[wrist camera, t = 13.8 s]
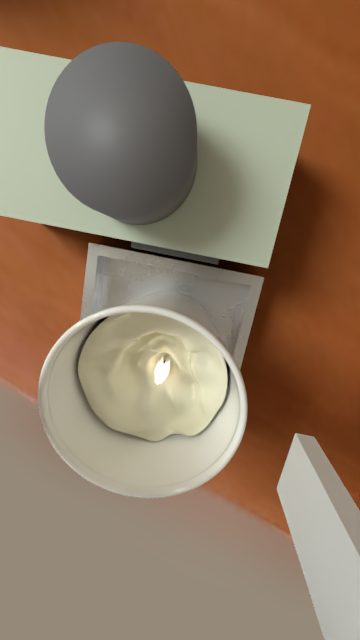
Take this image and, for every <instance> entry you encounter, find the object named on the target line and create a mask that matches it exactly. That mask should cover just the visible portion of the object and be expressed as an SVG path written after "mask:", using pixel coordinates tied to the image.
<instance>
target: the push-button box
mask: <svg viewBox="0 0 360 640" xmlns="http://www.w3.org/2000/svg"><path fill="white" fill-rule="evenodd" d="M310 107H311V105H310V104H304V103H299V102H294V101H288V100H283V99H278V98H272V97H267V96H262V95H256V94H251V93H246V92H240V91H235V90H230V89H224V88H219V87H214V86H208V85H203V84H198V83H192V82H187V81H183V79H182V78H181V77H180V75H179V74H178V72H177V71H176V70H175V69H174V68H173V66H172V65H171V64H170V63H169V62H168V61H166V60H165V59H164V58H163V57H162V56H160V55H159V54H157V53H156V52H154V51H153V50H151V49H148V48H146V47H144V46H142V45H138V44H134V43H130V42H108V43H103V44H99V45H97V46H94V47H91V48H89V49H87V50H86V51H84V52H82V53H80V54H79V55H78V56H77V57H75V58H74V59H73V60H69V59H64V58H59V57H53V56H48V55H43V54H37V53H32V52H27V51H21V50H16V49H10V48H5V47H0V215H1V216H6V217H11V218H16V219H21V220H26V221H31V222H36V223H41V224H46V225H51V226H56V227H61V228H66V229H71V230H76V231H81V232H86V233H91V234H96V235H101V236H106V237H111V238H116V239H121V240H127V241H132V242H131V248H136V249H141V250H146V251H151V252H156V253H161V254H167V255H172V256H177V257H182V258H187V259H192V260H197V261H202V262H207V263H212V264H217V265H218V262H219V259H223V260H228V261H233V262H238V263H243V264H248V265H253V266H258V267H264V268H268V266H269V262H270V259H271V255H272V251H273V247H274V243H275V240H276V236H277V232H278V228H279V224H280V221H281V217H282V213H283V209H284V205H285V202H286V198H287V194H288V190H289V186H290V183H291V179H292V175H293V171H294V167H295V164H296V160H297V156H298V152H299V148H300V145H301V141H302V137H303V133H304V129H305V126H306V122H307V118H308V114H309V110H310Z"/></svg>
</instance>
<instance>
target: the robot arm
mask: <svg viewBox="0 0 360 640" xmlns="http://www.w3.org/2000/svg"><path fill="white" fill-rule="evenodd" d="M277 491H278V495H279V498H280V501H281V504H282V507H283V510H284V514H285V517H286V520H287V523H288V526H289V529H290V532H291V536H292V539H293V542H294V545H295V548H296V551H297V555H298V558H299V561H300V564H301V567H302V570H303V573H304V577H305V580H306V583H307V586H308V589H309V592H310V596H311V598H312V602H313V605H314V608H315V611H316V614H317V617H318V621H319V624H320V627H321V630H322V633H323V637H324V640H360V510H359V509H358V507H357V506H356V504H355V502H354V501H353V499H352V497H351V496H350V494H349V492H348V491H347V489H346V488H345V486H344V484H343V483H342V481H341V479H340V478H339V476H338V475H337V473H336V471H335V470H334V468H333V466H332V465H331V463H330V461H329V460H328V458H327V457H326V455H325V453H324V452H323V450H322V448H321V447H320V445H319V443H318V442H317V440H316V439H315V437H313V436H308V435H303V434H299V433H295V435H294V438H293V441H292V444H291V447H290V450H289V453H288V456H287V459H286V462H285V465H284V468H283V471H282V474H281V477H280V480H279V483H278V486H277Z"/></svg>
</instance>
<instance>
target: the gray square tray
mask: <svg viewBox="0 0 360 640" xmlns="http://www.w3.org/2000/svg"><path fill="white" fill-rule="evenodd" d="M263 281H264V277H262V276H259V275H254V274H249V273H244V272H239V271H234V270H229V269H224V268H219V267H214V266H209V265H204V264H199V263H194V262H189V261H184V260H179V259H174V258H169V257H163V256H158V255H153V254H148V253H143V252H138V251H133V250H128V249H123V248H118V247H113V246H108V245H103V244H97V243H89V245H88V255H87V264H86V273H85V282H84V291H83V300H82V309H81V318H80V321H81V320H82V319H84V318H86V317H88V316H89V315H92V314H94V313H96V312H99V311H101V310H105V309H108V308H112V307H115V306H118V305H120V304H123V303H125V302H128V301H130V300H133V299H135V298H137V297H140V296H142V295H145V294H148V293H151V292H155V291H161V290H171V291H177V292H181V293H184V294H186V295H189V296H190V297H192V298H194V299H195V300H197V301H198V302H199V303H200V304H201V305H202V306H203V307H204V308H205V309H206V310H207V312H208V313H209V315H210V316H211V318H212V320H213V322H214V324H215V326H216V328H217V330H218V332H219V334H220V336H221V337H222V339H223V341H224V343H225V345H226V347H227V349H228V350H229V352H230V353H231V355H232V356H233V358H234V360H235V361H236V363H237V365H238V367H239V370H240V368H241V365H242V361H243V357H244V353H245V349H246V345H247V342H248V338H249V334H250V330H251V326H252V323H253V319H254V315H255V311H256V307H257V303H258V300H259V296H260V292H261V288H262V284H263Z"/></svg>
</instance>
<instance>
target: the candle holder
mask: <svg viewBox="0 0 360 640" xmlns="http://www.w3.org/2000/svg"><path fill="white" fill-rule="evenodd" d="M38 407H39V413H40V418H41V421H42V425H43V427H44V430H45V432H46V435H47V437H48V439H49V441H50V442H51V444H52V446H53V447H54V449H55V450H56V451H57V453H58V454H59V456H60V457H61V458H62V459H63V460H64V461H65V462H66V463H67V464H68V465H69V466H70V467H71V468H72V469H73V470H74V471H75V472H76V473H78V474H79V475H80V476H82V477H83V478H85V479H86V480H88V481H89V482H91V483H93V484H95V485H97V486H99V487H101V488H103V489H105V490H108V491H111V492H114V493H117V494H121V495H125V496H130V497H137V498H161V497H168V496H174V495H178V494H181V493H184V492H187V491H190V490H192V489H195V488H197V487H199V486H200V485H202V484H204V483H206V482H207V481H209V480H210V479H212V478H213V477H214V476H215V475H217V474H218V473H219V472H220V471H221V470H222V469H223V468H224V467H225V466H226V465H227V463H228V462H229V461H230V460H231V458H232V457H233V455H234V454H235V452H236V450H237V449H238V447H239V445H240V442H241V440H242V437H243V434H244V431H245V427H246V422H247V413H248V402H247V393H246V388H245V384H244V380H243V377H242V374H241V372H240V370H239V367H238V365H237V363H236V361H235V360H234V358H233V356H232V355H231V353H230V352H229V350H228V349H227V347H226V345H225V343H224V341H223V339H222V337H221V336H220V334H219V332H218V330H217V328H216V326H215V324H214V322H213V320H212V318H211V316H210V315H209V313H208V312H207V310H206V309H205V308H204V307H203V306H202V305H201V304H200V303H199V302H198V301H197V300H195V299H194V298H192V297H190V296H189V295H186V294H184V293H181V292H177V291H171V290H161V291H155V292H151V293H148V294H145V295H142V296H140V297H137V298H135V299H133V300H130V301H128V302H125V303H123V304H120V305H118V306H115V307H112V308H108V309H105V310H101V311H99V312H96V313H94V314H92V315H89V316H88V317H86V318H84V319H82V320H81V321H79V322H77V323H76V324H75V325H73V326H72V327H71V328H70V329H68V330H67V331H66V332H65V333H64V334H63V335H62V336H61V337H60V338H59V340H58V341H57V342H56V343H55V345H54V346H53V347H52V349H51V351H50V352H49V354H48V356H47V358H46V360H45V362H44V365H43V367H42V371H41V374H40V378H39V384H38Z"/></svg>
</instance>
